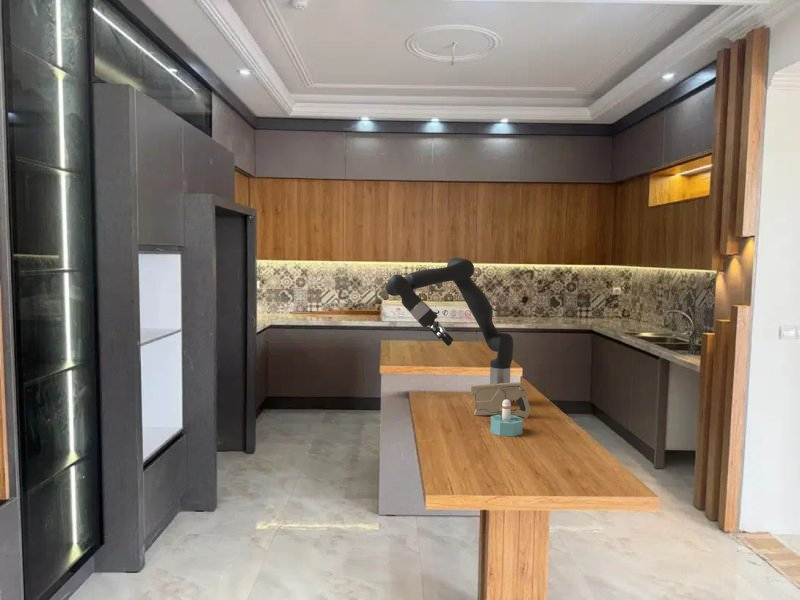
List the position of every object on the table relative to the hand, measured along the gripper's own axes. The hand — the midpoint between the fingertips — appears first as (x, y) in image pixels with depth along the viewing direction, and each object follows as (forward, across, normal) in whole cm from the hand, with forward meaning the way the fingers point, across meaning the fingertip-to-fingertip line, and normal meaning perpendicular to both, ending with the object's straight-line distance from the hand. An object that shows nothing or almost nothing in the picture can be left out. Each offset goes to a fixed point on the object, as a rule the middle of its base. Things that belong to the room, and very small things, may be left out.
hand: (451, 343), depth 232 cm
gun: (+38, +13, +9) cm, 41 cm away
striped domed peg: (+39, -9, +7) cm, 41 cm away
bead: (+39, -9, +7) cm, 41 cm away
